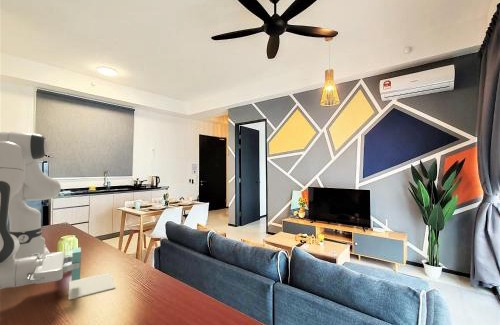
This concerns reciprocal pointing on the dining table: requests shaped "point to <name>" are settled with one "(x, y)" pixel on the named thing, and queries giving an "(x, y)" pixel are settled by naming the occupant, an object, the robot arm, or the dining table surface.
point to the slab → (75, 258)
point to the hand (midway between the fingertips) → (79, 261)
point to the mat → (90, 285)
